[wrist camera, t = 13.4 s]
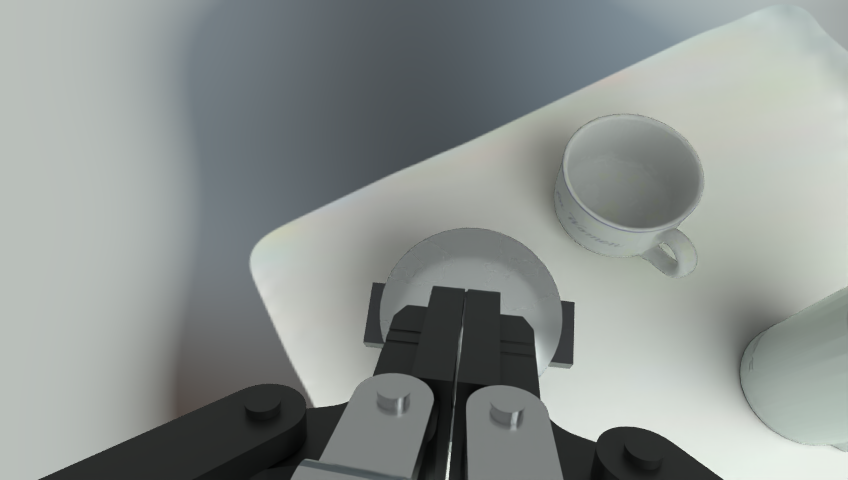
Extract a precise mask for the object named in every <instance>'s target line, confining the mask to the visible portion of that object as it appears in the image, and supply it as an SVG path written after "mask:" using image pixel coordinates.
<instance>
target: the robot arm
mask: <svg viewBox="0 0 848 480" xmlns="http://www.w3.org/2000/svg"><path fill="white" fill-rule="evenodd" d="M464 300H465V289H463V288H453V287H443V286H433V287H432V291H431V295H430V299H429V303H428V307H425V306H415V305H406V306H405V307H404V308H402V309H401V310H400V311H399V312H397V313H396V314H395V315H394V316H393V319H392V322H391V325H390V328H389V331H388V334H387V336H386V340H385V342H384V345H383V348H382V351H381V354H380V357H379V360H378V362H377V365H376V368H375V371H374V374H373V377H370V378H368V379H366V380H364V381H363V382H362V383H360V384H359V385H358V386H357V388H356V389H355V391H354V393H353V395H352V397H351V399H350V401H349V402H346V403H343V404H339V405H335V406H328V407H319V408H309V409H306V402H305V399H304V397H303V396H302V395H301V394H300V393H299V392H298V391H296V390H295V389H293V388H290V387H288V386H284V385H278V384H261V385H255V386H252V387H248V388H245V389H243V390H240V391H238V392H236V393H233V394H231V395H229V396H227V397H225V398H222V399H220V400H218V401H216V402H213V403H211V404H209V405H206V406H204V407H202V408H200V409H197V410H195V411H193V412H190V413H188V414H186V415H184V416H181V417H179V418H177V419H175V420H172V421H170V422H168V423H166V424H163V425H161V426H159V427H156V428H154V429H152V430H150V431H147V432H145V433H143V434H141V435H138V436H136V437H134V438H132V439H129V440H127V441H125V442H123V443H120V444H118V445H116V446H113V447H112V448H109V449H107V450H105V451H102V452H100V453H98V454H95V455H93V456H91V457H89V458H86V459H84V460H82V461H80V462H77V463H75V464H73V465H70V466H68V467H66V468H64V469H61V470H59V471H57V472H55V473H53V474H50V475H48V476H46V477H43V478H41V479H39V480H445V479H446V470H447V462H448V454H449V445H450V437H451V429H452V420H453V412H454V422H453V435H452V447H451V459H450V471H449V480H723V479H722V478H720V477H719V476H718V475H716V474H715V473H714V472H712V471H711V470H709V469H708V468H707V467H705V466H704V465H703V464H701V463H700V462H698V461H697V460H696V459H694V458H693V457H692V456H690V455H689V454H687V453H686V452H685V451H683V450H682V449H681V448H679V447H678V446H676V445H675V444H674V443H672V442H671V441H669V440H668V439H666V438H665V437H663V436H661V435H659V434H657V433H654V432H652V431H649V430H645V429H642V428H637V427H616V428H612V429H609V430H607V431H605V432H603V433H602V434H601V435H600V436H599V438H598V440H597V442H594V441H591V440H588V439H585V438H582V437H579V436H577V435H574V434H572V433H570V432H568V431H566V430H564V429H562V428H561V427H559V426H557V425H556V424H555V423H554V422H553V421H551V420H550V418H549V414H548V411H547V408H546V406H545V405H544V403H543V402H542V401H541V400H540V390H539V380H538V369H537V358H536V348H535V337H534V329H533V328H532V327H531V326H530V324H529V323H528V322H527V321H526V319H525V318H524V317H523V316H515V315H505V314H500V303H501V293H500V292H495V291H485V290H475V289H468V294H467V302H466V310H465V318H464V327H463V335H462V324H463V312H464ZM461 336H462V343H461ZM460 348H461V352H460ZM459 359H460V360H459ZM740 376H741V384H742V388H743V391H744V394H745V397H746V399H747V401H748V402H749V404H750V406H751V408H752V409H753V411H754V412H755V413H756V414H757V416H758V417H759V418H760V419H761V421H763V422H764V423H765V424H766V425H767V426H768V427H769V428H771V429H772V430H773V431H775V432H776V433H778V434H780V435H781V436H783V437H785V438H787V439H790V440H792V441H795V442H798V443H802V444H808V445H832V446H835V447H837V448H839V449H840V450H842V451H844V452H848V286H847V287H845V288H843V289H841V290H839V291H837V292H836V293H834V294H832V295H830V296H828V297H826V298H824V299H823V300H821V301H819V302H817V303H815V304H813V305H812V306H810V307H808V308H806V309H804V310H802V311H800V312H799V313H797V314H795V315H793V316H791V317H789V318H787V319H785V320H784V321H782V322H780V323H778V324H776V325H773V326H771V327H770V328H768V329H767V330H765V331H764V332H762V333H760V334H759V335H757V336H756V337H755V338H754V339H753V340H752V341H751V342H750V343H749V345H748V346H747V348H746V349H745V352H744V354H743V357H742V360H741V368H740ZM455 395H456V398H455ZM454 404H455V410H454Z"/></svg>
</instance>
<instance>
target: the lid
mask: <svg viewBox="0 0 848 480" xmlns="http://www.w3.org/2000/svg"><path fill="white" fill-rule="evenodd" d="M433 286H443V287H453V288H463V289H465V300H464V312H463V324H462V335H463V327H464V318H465V310H466V302H467V294H468V289H475V290H485V291H495V292H500V293H501V303H500V314H505V315H515V316H523V317H524V318H525V319H526V321H527V322H528V323H529V324H530V326H531V327H532V328H533V329H534V337H535V348H536V358H537V369H538V378H539V377H540V376H541V374H542V373H543V372H544V370H545V369H546V368H547V367H548V365H549V363H550V361H551V360H552V358H553V356H554V354H555V351H556V349H557V346H558V344H559V339H560V335H561V329H562V307H561V301H560V296H559V293H558V290H557V287H556V285H555V282H554V280H553V278H552V276H551V274H550V273H549V271H548V270H547V268H546V266H545V265H544V264H543V263H542V262H541V260H540V259H539V258H538V257H537V256H536V255H535V254H534V253H533V252H532V251H531V250H530V249H528V248H527V247H526V246H524V245H523V244H522V243H520V242H518V241H516V240H515V239H513V238H511V237H509V236H506V235H504V234H502V233H499V232H495V231H491V230H487V229H480V228H460V229H453V230H448V231H444V232H441V233H438V234H435V235H433V236H431V237H429V238H427V239H425V240H423V241H422V242H420V243H419V244H417V245H415V246H414V247H413V248H412V249H411V250H409V251H408V252H407V253H406V254H405V255H404V256H403V257H402V258H401V260H400V261H399V262H398V263H397V265H396V266H395V267H394V269H393V270H392V272H391V274H390V276H389V278H388V280H387V282H386V285H385V288H384V290H383V294H382V299H381V304H380V327H381V332H382V338H383V341H384V342H385V340H386V336H387V334H388V331H389V328H390V325H391V322H392V319H393V316H394V315H395V314H396V313H397V312H399V311H400V310H401V309H402V308H404V307H405V306H406V305H415V306H425V307H428V303H429V299H430V295H431V291H432V287H433ZM461 343H462V336H461ZM460 352H461V348H460ZM459 360H460V359H459ZM455 398H456V395H455ZM454 406H455V404H454Z"/></svg>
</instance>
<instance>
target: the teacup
mask: <svg viewBox="0 0 848 480" xmlns="http://www.w3.org/2000/svg"><path fill="white" fill-rule="evenodd" d="M703 188H704V174H703V169H702V166H701V163H700V160H699V157H698V155H697V154H696V152H695V150H694V149H693V147H692V146H691V145H690V144H689V142H688V141H687V140H686V139H685V138H684V137H683V136H682V135H681V134H679V133H678V132H677V131H675V130H674V129H673V128H671V127H669V126H668V125H666V124H664V123H662V122H660V121H658V120H655V119H652V118H649V117H646V116H641V115H634V114H613V115H608V116H603V117H599V118H596V119H595V120H592V121H590V122H588V123H587V124H585V125H584V126H582V127H581V128H580V129H578V130H577V131H576V132H575V133H574V135H573V136H572V137H571V139H570V140H569V142H568V144H567V146H566V148H565V151H564V154H563V159H562V164H561V167H560V170H559V173H558V176H557V180H556V185H555V191H554V203H555V209H556V213H557V216H558V218H559V220H560V222H561V224H562V226H563V228H564V229H565V230H566V232H567V233H568V234H569V235H570V236H571V237H572V238H573V239H574V240H575V241H576V242H577V243H579V244H580V245H581V246H583V247H585V248H586V249H588V250H590V251H592V252H595V253H598V254H601V255H604V256H609V257H630V256H635V255H640V256H641V257H642V258H643V259H645V260H648V261H650V262H651V263H652V264H653V265H654V266H655V267H657V268H658V269H659V270H660V271H662V272H663V273H664V274H666V275H668V276H670V277H674V278H678V277H683V276H686V275H688V274H689V273H691V272H692V271H693V270H694V269H695V267H696V265H697V254H696V250H695V248H694V246H693V244H692V242H691V241H690V240H689V238H688V237H687V236H686V235H685V234H683V233H682V232H681V231H679V230H678V229H676V228H677V227H678V225H679V224H680V223H681V222H682V221H683V220H684V219H685V218H686V217H687V216H688V215H689V214H690V213H691V212H692V211H693V210H694V209H695V207H696V206H697V204H698V203H699V201H700V199H701V196H702V192H703ZM663 242H664V243H666V244H667V245H668V246H669V247H670V248H671V249H672V250H673V252H674V254H675V256H676V259H677V261H676V260H674V259H673V258H671V257H670V256H669V255H667V254H666V253H665V252H664V251H663V250H662V249H661V248H660V247H659V244H660V243H663Z"/></svg>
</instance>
